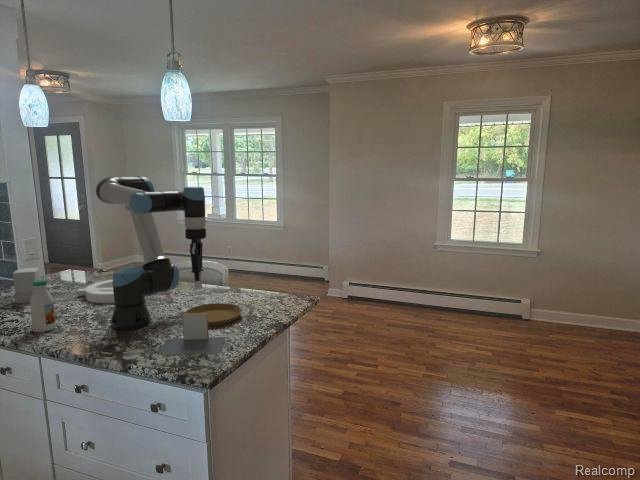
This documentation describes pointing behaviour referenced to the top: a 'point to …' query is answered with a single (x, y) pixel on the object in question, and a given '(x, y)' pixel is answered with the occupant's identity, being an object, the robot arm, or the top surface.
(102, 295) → the ring with crossbar
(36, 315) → the milk bottle
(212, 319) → the plant saucer
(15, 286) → the supplement box
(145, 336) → the top surface
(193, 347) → the mat
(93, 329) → the top surface
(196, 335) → the tile
